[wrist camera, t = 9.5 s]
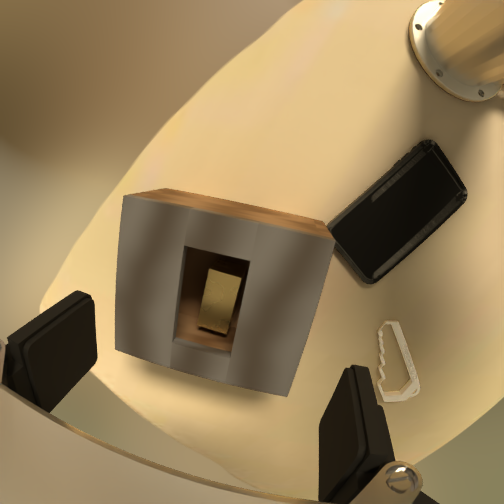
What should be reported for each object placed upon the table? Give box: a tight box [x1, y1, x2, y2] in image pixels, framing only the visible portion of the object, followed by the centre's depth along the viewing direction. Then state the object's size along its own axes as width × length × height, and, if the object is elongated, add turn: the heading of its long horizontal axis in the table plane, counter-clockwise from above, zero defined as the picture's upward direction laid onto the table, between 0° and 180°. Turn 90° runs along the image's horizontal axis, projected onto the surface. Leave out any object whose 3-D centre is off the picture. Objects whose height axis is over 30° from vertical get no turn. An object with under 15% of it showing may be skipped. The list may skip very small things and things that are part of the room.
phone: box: [327, 140, 467, 284], centre depth 29 cm, size 8×1×15 cm
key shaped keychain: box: [376, 320, 420, 402], centre depth 33 cm, size 13×5×2 cm, turn 29°
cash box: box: [115, 188, 336, 397], centre depth 28 cm, size 16×14×9 cm
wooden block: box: [197, 259, 246, 334], centre depth 31 cm, size 3×6×4 cm, turn 165°
